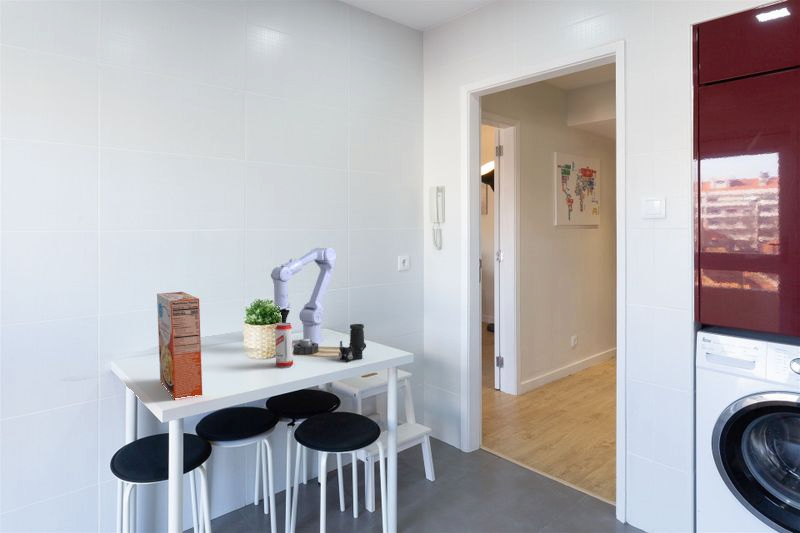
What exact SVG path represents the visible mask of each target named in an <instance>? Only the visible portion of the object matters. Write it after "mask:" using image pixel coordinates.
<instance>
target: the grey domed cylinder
mask: <svg viewBox="0 0 800 533" xmlns="http://www.w3.org/2000/svg"><path fill="white" fill-rule="evenodd" d="M299 343H300V347H309V346H312V339H300V340H299Z"/></svg>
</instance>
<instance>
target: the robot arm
mask: <svg viewBox="0 0 800 533" xmlns="http://www.w3.org/2000/svg"><path fill="white" fill-rule="evenodd" d="M336 258H337V255H336V251H335V250H334V249H333V248H332V247H315V248H313V249H310V251H309V252H307V253H306V254H304V255H303V256H301V257H300V258H298V259H297V258H289V261H287V262H285V263H283V264H280V265H281V266H280V267H279V266H277V267H273V269H272V271H271V273H270V277H271V279H272V281H273V292H274V293H273V295H274V298H273V299H274V306H275V305H277V306H280V312H281V315H282V323H287V318H288V316H289V314H290V309H291V308H292V305H291V303H289V280H290V279H291V277H292V276H294V275H295V274H296V273H298V272H300V271H301V270H302V268H303V266H306V265H307V264H309V263H311V262H313V261H314V263H316V265H317V266H318V267H319V269H320V271H319V274H318V277H317V279H316V283H315V285H314V288H313V291H312V294H311V297H310V298H309V301H308V302H307V303H305V304H304V306H303V308H302V309H301V310H300V312H299V320H300V321H301V323H302V327H303V328H302V330H303V331H302V333H303V335H302V336H303V337H302V338H303V339H312V342H314V343H317V344H318V345H319V344H320V343H322V342H324V339H322V337H323V336H322V334H323V333H322V331H323V330H322V326H321V323H322V321H323V318H324V310H325V309H324V308H323V306H322V304H323V301H324V299H325V298H324V297H325V296H326V292H327V289H328V286H329V284H330V281H331V278H332V275H333V272H334V270H335V269H334V266H335V262H336Z"/></svg>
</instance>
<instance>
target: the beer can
mask: <svg viewBox="0 0 800 533" xmlns="http://www.w3.org/2000/svg"><path fill="white" fill-rule="evenodd" d="M274 333H275V335H274V336H275V337H274V338H275V366H277V367H278V368H280V369H285V368H286V367H287V368H290V367H292V366H293V364H294V356H293V345H294V344H293V337H294V336H293V327H292V325H291V323H290V322H286V323H278V322H277V324H276V327H275V330H274Z"/></svg>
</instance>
